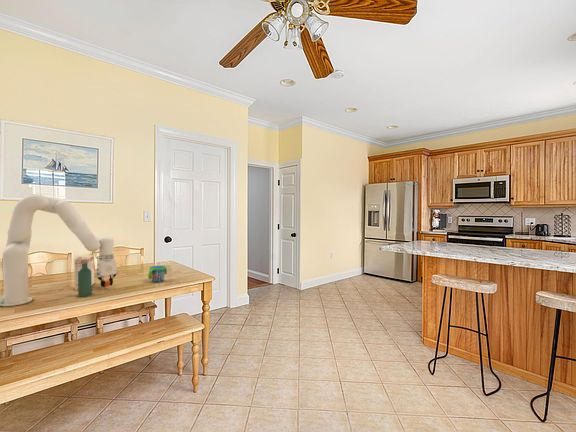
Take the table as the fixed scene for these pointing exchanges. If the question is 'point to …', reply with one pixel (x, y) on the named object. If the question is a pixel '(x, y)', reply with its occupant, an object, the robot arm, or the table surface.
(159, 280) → the snack cup
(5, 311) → the table surface
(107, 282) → the cap
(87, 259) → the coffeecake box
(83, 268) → the bottle
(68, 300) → the table surface
